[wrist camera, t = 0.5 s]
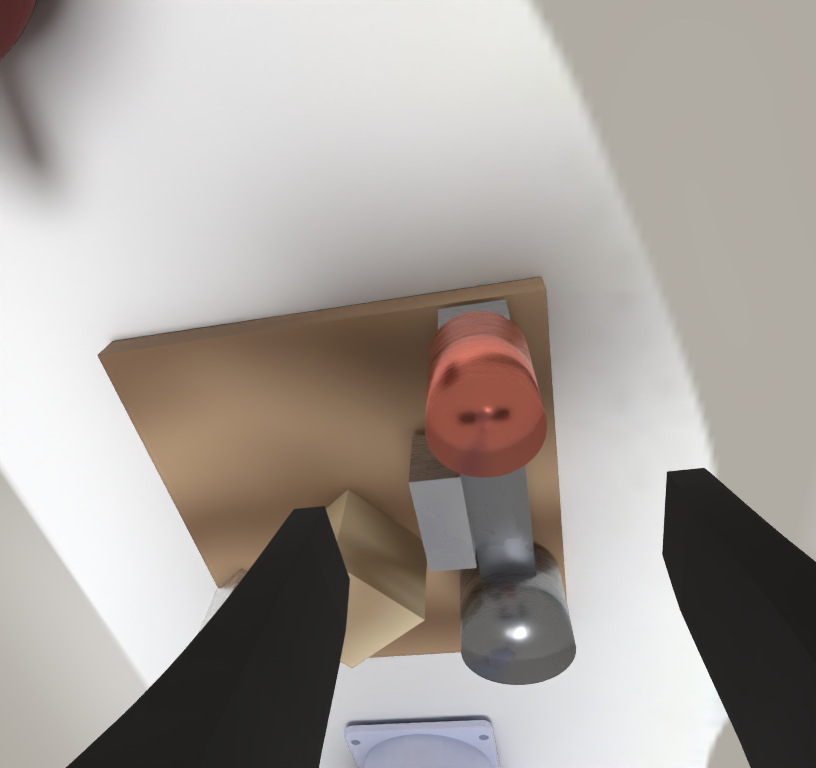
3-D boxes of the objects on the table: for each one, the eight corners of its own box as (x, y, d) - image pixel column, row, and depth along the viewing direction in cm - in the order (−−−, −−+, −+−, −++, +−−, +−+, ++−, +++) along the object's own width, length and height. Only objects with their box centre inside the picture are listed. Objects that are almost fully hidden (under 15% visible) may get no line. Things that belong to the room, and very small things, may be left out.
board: (565, 625, 26) (569, 645, 26) (263, 645, 29) (257, 664, 28) (541, 277, 18) (546, 289, 17) (112, 341, 20) (97, 355, 19)
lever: (562, 607, 24) (588, 732, 20) (452, 615, 25) (453, 738, 20) (539, 281, 17) (571, 367, 12) (383, 304, 17) (362, 394, 13)
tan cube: (427, 543, 23) (424, 620, 20) (363, 590, 24) (352, 668, 22) (348, 489, 22) (332, 562, 19) (286, 543, 23) (263, 618, 20)
